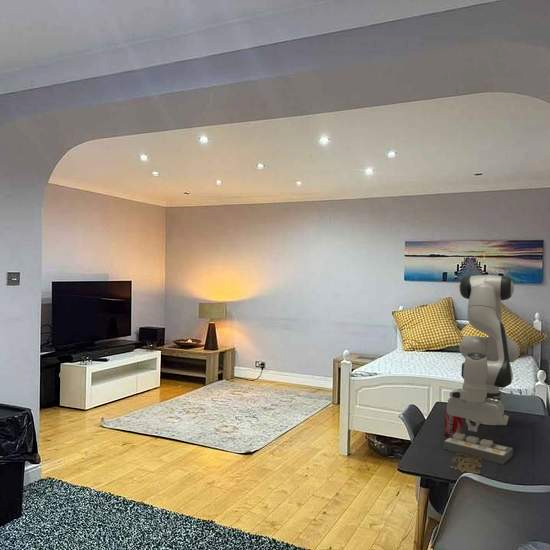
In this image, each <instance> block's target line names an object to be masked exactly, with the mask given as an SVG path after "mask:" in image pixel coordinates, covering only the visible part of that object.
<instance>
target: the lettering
mask: <svg viewBox="0 0 550 550" xmlns="http://www.w3.org/2000/svg"><path fill="white" fill-rule="evenodd" d="M456 455H457V456H453V458H452V460H451V462H452V463H453V462H456V463H457V462H459V463H457V466H455V465H449V468H450V467H451V468H450V469H452V468H455V469H454V470H456V469H459V470H460V471H461V472H460V473H465V472H466V471H467V473H471V474H477V475H479V474H481V470H480V469H476V468H482V467H483V465H482V462H480V460H481V461H483V460H484V459H483V458H481V457H477V456H472V455H468V454H466V453H465V454H461V452H458V451H457V452H456ZM458 455H464V456H458ZM465 456H466V457H467V458H466V457H465ZM474 458H475V459H474ZM457 459H458V460H457ZM461 459H462V460H461ZM479 459H480V460H479ZM460 460H461V461H460ZM464 462H465V463H464ZM467 462H468V463H467ZM462 465H464V466H462ZM470 465H471V466H470ZM476 466H477V467H476ZM459 470H458V471H459ZM464 471H465V472H464Z"/></svg>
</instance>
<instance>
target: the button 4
mask: <svg viewBox="0 0 550 550" xmlns="http://www.w3.org/2000/svg"><path fill="white" fill-rule="evenodd" d="M499 445H500V444H498V445H497V446H495V447H494V449H497V450H501V451H506V450H507V447H508V446H506V447H503V446H504V445H502V446H499Z"/></svg>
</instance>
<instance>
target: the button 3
mask: <svg viewBox="0 0 550 550" xmlns="http://www.w3.org/2000/svg"><path fill="white" fill-rule="evenodd" d="M480 440H481V441H480V445H481V446H485V447H489V448H491V447H492V446H493V443H494V442H493V440H490V439H485V438H482V439H480Z"/></svg>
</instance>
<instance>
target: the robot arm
mask: <svg viewBox="0 0 550 550" xmlns="http://www.w3.org/2000/svg"><path fill="white" fill-rule="evenodd" d="M458 289H459V293H460V296H461V297H462V298H464V299H468V305H467V321H468V323H469V325H470V326H471V327H472V328H474V329H475V330H476V331H479V332H481V333H484V334H485V335H487V336H488V337H486V336H478V335H470V336H464V337H463V338H462V339H461V340H460V341H459V352H460V355H462V357H464V359H465V360H464V362H462V363H461V375H460V376H461V378H462V379H463V383H462V388H459V389H454V390H452V391H450V392H449V398H448V399H447V403H446V409H447V410H446V409H445V412H446V411H447V413H448V415H452V416H457V417H462V418H463V419H465V423H466V425H467V426H468V427H467V429H468V430H467V431H470V432H474V433H477V432H478V427H479V426H480V425H486V426H487V425H488V426H507V425H508V422H509V418H510V416H508V415H506V414H505V413H504V412H505V411H504V410H505V408H504V407H505V406H504V404H503V403H502V401H501V399H502V397H501V396H502V395H501V394H502V391H501V390H500V388H502V389H503V388H506V387H508V386H510V385H511V384H512V382H513V378H514V376H513V375H514V373H513V369H512V366H511V363H514V362H516V360H517V359H518V358H519V355H520V349H519V346H518V344H517V343H516V342H515V341H514V340H513V339H511V337H509V335H508V334H507V333H506V328H505V326H504V324H503V320H502V319H503V317H502V314H503V313H502V301H506V300H509V299H511V298H512V296H513V294H514V290H515V285H514V283H513V280H512V278H511V277H510V276H505V275H493V274H486V275H485V274H484V275H479V274H478V275H465V276H463V277H461V279H460V282H459V286H458ZM471 421H472V422H474V423H475V425H472V423H471Z"/></svg>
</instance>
